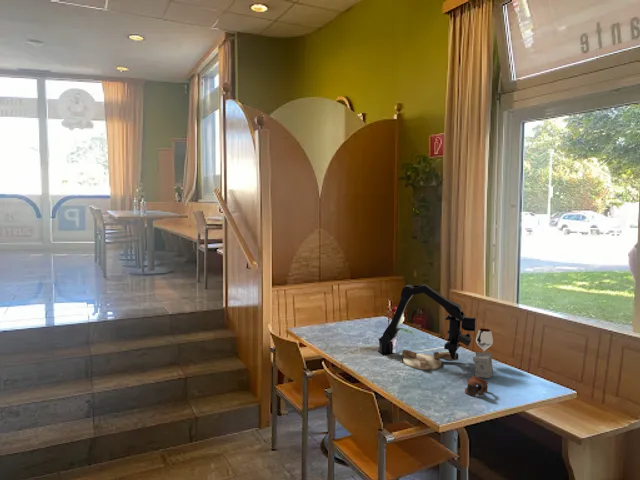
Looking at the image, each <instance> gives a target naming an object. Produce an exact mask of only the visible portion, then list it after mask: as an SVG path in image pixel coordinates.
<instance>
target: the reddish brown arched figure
mask: <svg viewBox="0 0 640 480" xmlns="http://www.w3.org/2000/svg"><path fill="white" fill-rule="evenodd" d="M466 382H467V387H465V388H464V394H466V395H469V396H472V397H474V398H475V397H477V396H476V395H478V396H483V395H484V393H488V383H489V382H488V381H486V380H484V379H482V377H476V376H475V375H471V376H470V378H469V379H467V381H466Z"/></svg>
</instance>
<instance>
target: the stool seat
mask: <svg viewBox="0 0 640 480" xmlns="http://www.w3.org/2000/svg"><path fill="white" fill-rule="evenodd" d="M401 352H402V353H401V356H403V359H402V360H403V364H404V365H405V366H407V367H409V368H412V369H416V370H423V371H430V370H437V369H439V368H441V367H442V359H434V357H433V355H431V354H426V353H417V352H415V351H411V350H408V349H403V350H402V351H401Z"/></svg>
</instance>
